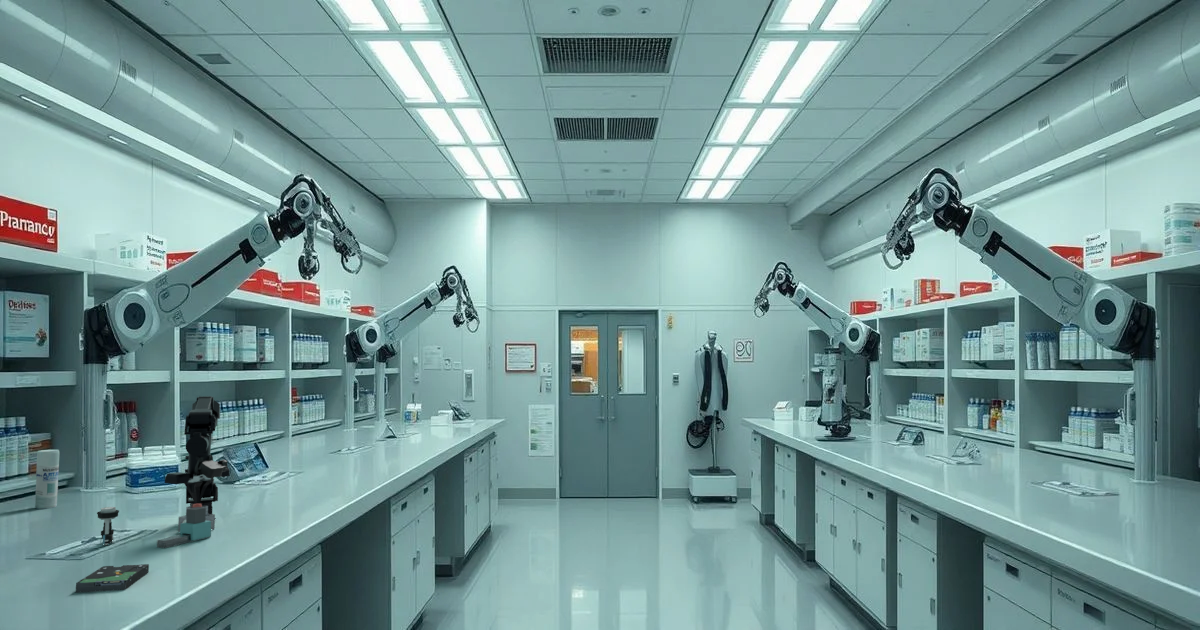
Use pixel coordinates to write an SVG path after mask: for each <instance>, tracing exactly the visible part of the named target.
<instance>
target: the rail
mask: <svg viewBox="0 0 1200 630" xmlns="http://www.w3.org/2000/svg"><path fill="white" fill-rule="evenodd" d="M211 537H212V535H211V536H210V537H209V538H211ZM205 539H208V538H207V537H206V538H205ZM205 539H204V538H202V539H197V540H193V541H191V534H186V533H185V534H181V535H180V534H178V535H173V536H168V537H164V538H160V539H157V540H156V548H161V549H167V548H171V547H174V546H175V547H177V546H178V545H179V546H180V545H183V544H187V543H191V542H195V541H200V540H205Z"/></svg>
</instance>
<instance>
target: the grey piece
mask: <svg viewBox="0 0 1200 630" xmlns="http://www.w3.org/2000/svg"><path fill="white" fill-rule="evenodd" d="M202 507H203V508H206V518H205V520H206V521H211V529H213V530H215V528H216V527H215V526H216V525H215V523H216V522H215V521H216V520H215V518H216V514H213V513H212V514H208V506H206V505H202ZM189 508H194V507H193V506H190V505H188V506H186V508H185V509H186V510H185V515H181V516H178V522H177V523H178V525H177V532H178V533H180V525H181V523H186V516H187V509H189Z"/></svg>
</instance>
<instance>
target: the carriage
mask: <svg viewBox="0 0 1200 630" xmlns="http://www.w3.org/2000/svg"><path fill="white" fill-rule="evenodd" d="M205 518H206V508H203V507H194V508H189V509H187V516H186V523H181V525H180V532H179V535H181V534H185V533H186V534H191V541H192V542H194V541H193V540H196V541H198V540H197V539H200V540H203V539H202V538H205V539H207V538H206V537H209V538H211V537H212V530H211V521H206V520H205ZM210 536H211V537H210Z"/></svg>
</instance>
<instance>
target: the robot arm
mask: <svg viewBox="0 0 1200 630" xmlns="http://www.w3.org/2000/svg"><path fill="white" fill-rule="evenodd" d="M214 398H215V397H214V396H210V395H207V396H206V395H205V396H202V395H199V396H197V397H196V401H194V403H192V405H191V410H190V411H189V412H188V415H186V417H185V425H184V432H183V435H189V437H188V440H187V441H186V444H185V450H186V452H187V454H188V455H185V458H184V459H185V460H188V461H187V464H188V465H187V468H186V469H184V472H182V471H181V472H180V471H177V472H176V471H175V472H170V473H166V475H165V477H164V484H170V485H181V484H183V485H185V487H186V488H185V504H187V505H188V504H189V506H193V504H202V505H206V506H208V514H213V503H215V502H218V501H219V488H218V486H217V484H216V482H215V479H214V478H225V477H230V474H231V473H230V471H231V470H230V469H229V466H228V461H227V460H226V459H220V460H219V461H218V460H217V461H215V460H214V456H213V455H212V453H211V452H212V451H211V449H212V435H213V434H214V432H216V427H218V422H219V420H220V419H221V403H220V402H218V401H216V400H215V399H214ZM215 519H216V517H215Z"/></svg>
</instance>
